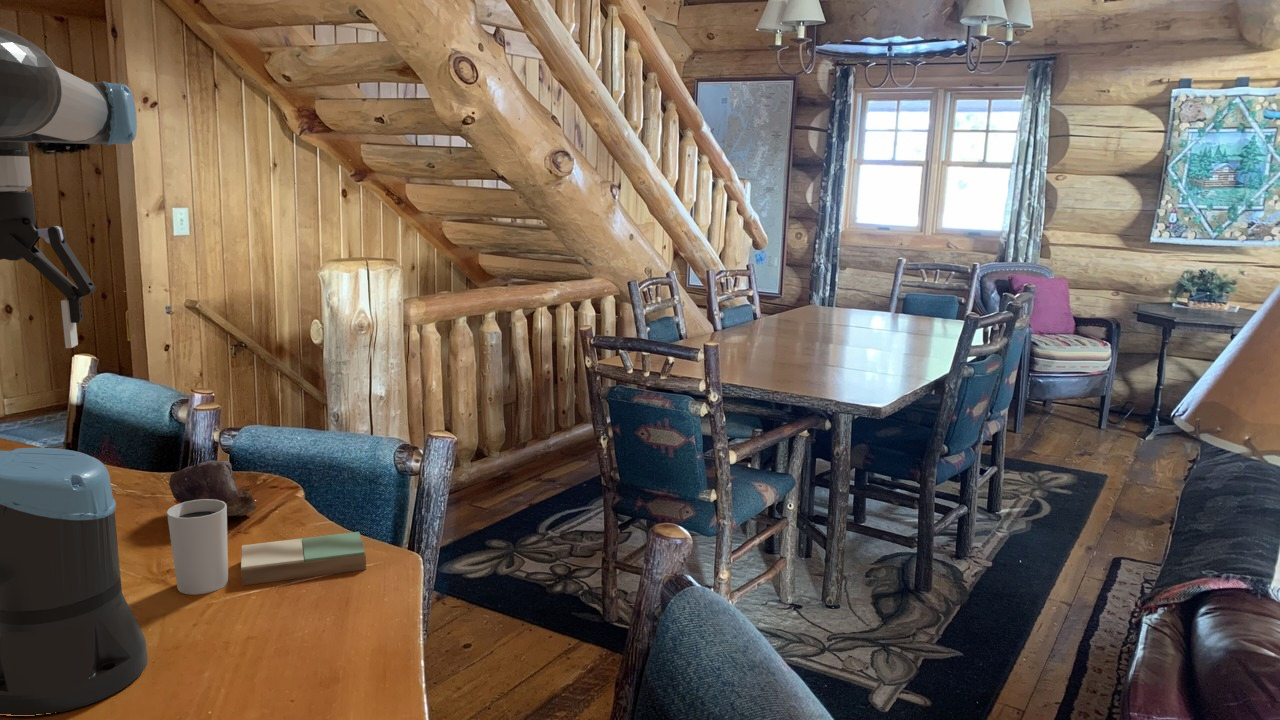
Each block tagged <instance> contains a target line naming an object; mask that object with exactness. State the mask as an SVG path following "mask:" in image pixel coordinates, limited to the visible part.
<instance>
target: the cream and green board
mask: <svg viewBox="0 0 1280 720" xmlns="http://www.w3.org/2000/svg"><path fill="white" fill-rule="evenodd" d="M360 533H361V532H360V531H354V532H352V531H351V532H344V533H343V532H342V533H337V534H328V535H320V536H319V535H318V536H312V537H311V536H309V537H304V538H303V537H301V538H295V539H294V538H293V539H284V540H278V541H277V540H276V541H268V542H260V543H258V542H257V543H251V544H242V545H241V555H240V578H241V579H240V580H241V586H248V585H256V584H257V585H258V584H265V583H273V582H280V581H287V580H295V579H303V578H311V577H312V578H313V577H317V576H325V575H326V576H327V575H333V574H341V573H349V572H356V571H357V572H358V571H362V570H363V571H364V570H365V571H366V570H367V555H366V554H367V553H366V551H365V547H364V543H363V540H362V536H361V534H360Z"/></svg>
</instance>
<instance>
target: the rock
mask: <svg viewBox="0 0 1280 720" xmlns="http://www.w3.org/2000/svg"><path fill="white" fill-rule="evenodd" d="M232 467H233V466H232V462H231V463H230V461H229V460H221V459H219V460H215V459H214V460H212V459H210V460H206V461H203V462H200V463H197V464H195V465H190V466H186V467H184V468H182V469H181V470H177V471H174V472H173V473H172V474H170V477H169V483H168V486H169V488H170V491H171V493H172V496H173V498H174V499H175V501H177V502H178V503H179V504H180V503H183V502H187V501H193V500H202V499H213V500H219V501H223V502H224V503H226V504H227V518H230V517H233V516H235V517H237V516H238V518H240V517H243V516H245V515H247V514H249V513H252V512H253V511H256V509H257V506H256V505H255V500H254V496H253V495H252V494H251V493H249V491H247V490H245V489H238V487H237V484H236V480H235V479H236V478H235V474H234V471H233V470H232ZM229 516H230V517H229ZM239 516H240V517H239Z"/></svg>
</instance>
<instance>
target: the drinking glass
mask: <svg viewBox="0 0 1280 720" xmlns="http://www.w3.org/2000/svg"><path fill="white" fill-rule="evenodd" d="M166 515H167V523H168V529H169V538H170V544H171V551H172V559H173V566H174V572H175V581H176V587H177V591H179V592H180V593H182V594H184V595H194V596H195V595H204V594H205V595H206V594H209V593H212V592H216V591H219V590H221V589H222V588H224V587H225V586H226V585H228V582H229V560H228V559H229V558H228V557H229V556H228V517H227V504H226V503H224V502H223V501H219V500H213V499H202V500H193V501H187V502H183V503H180V502H179V503H178V504H175V505H173V506H171V507H170V508H168V510H167V512H166Z"/></svg>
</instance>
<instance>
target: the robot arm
mask: <svg viewBox="0 0 1280 720" xmlns="http://www.w3.org/2000/svg"><path fill="white" fill-rule="evenodd" d="M137 119H138V118H137V108H136V103H135V98H134V95H133V91H132V90H131V88H130V87H128V85H126V84H123V83H116V82H115V83H114V82H107V81H104V80H101V81H87V80H85V79H82V78H80V77H78V76H76V75H75V74H72V73H70V72H68V71H66V70H64V69H63V68H60V67H58V66H56V65H55V63H54V62H53V61H52V59H51V58H50V57H49V56H48V54H47V53H46V52H45V51H44V50H43V49H42V48H40V47H39V46H38V45H36V44H35V43H34V42H32V41H30V40H29V39H27V38H25V37H23V36H21V35H19V34H17V33H15V32H13V31H11V30H8V29H6V28H3V27H1V26H0V261H1V260H6V261H20V260H21V261H22V260H23V259H24V260H25V261H26V262H27V263H28V264H30V265H32V266H33V267H34V269H36V270H37V271H38V272H39V273H40V274H41V275H43V276H44V278H46V279H47V280H48V281H49V282H50V284H52V285H53V286H54V287H55V288H56V289H57V290H59V292H60V293H62V294H63V295H64V296H65V297H66V298H64V299H62V300H60V305H61V316H62V326H63V336H64V345H65V346H64V347H65V349H72V348H75V347H76V346H78V345H79V339H78V331H77V330H78V329H77V328H78V327H77V324H79V323H81V322H83V319H84V312H83V303H82V302H83V301H82V300H83V298H84V297H86V296H88V295H91V294H93V293H95V292H96V291H97V286H96V285H95V284H94V282H93V281H92V278H90V276H89V274H88V273H87V272H86V270H85V269H84V266H83V265H82V264H81V262H80V261H79V259H78V258H77V256H76V255H75V253H74V252H73V250H72V249H71V247H70V245H69V244H68V242H67V240H66V235H65V230H64V228H63V227H62V226H61V225H53V226H50V227H46V228H39V226H38V225H37V223H36V211H35V201H34V200H35V199H34V194H33V193H32V191H28V189H27V188H30V187H31V186H32V174H31V163H30V155H29V150H28V149H29V148H28V143H42V144H43V143H52V144H53V143H54V144H55V143H56V144H58V143H59V144H79V145H80V144H83V145H84V144H85V145H103V146H111V145H129V144H131V143H132V142H134V141H135V139H136V136H137V127H138V124H137V122H138V121H137ZM41 238H43V240H44V241H45V243H47V244H50V247H51V248H52V250H53V251H54V254H55V255H56V256H57V258H58V259H59V261H60V262H61V263H62V265H63V267H64V268H65V270H66V272H67V273H68V274H69V276H70V277H71V278H72V280H73V281H71V280H70V279H69V278H68V277H67V276H66V275H65V274H64V273H63V272H62V271H61V270H60V269H59V268H57V266H56V265H54V263H52V262H51V261H50V260H49V259H48V258H47V257H46V256H45V254H44V253H43V251H41V250H40V249H39V248H38V247H37V244H38V241H39V240H40V239H41ZM74 283H75V284H74ZM111 484H112V483H111V477H110V472H109V470H108V469H107V467H106V465H104V463H103V462H102V461H100V460H99V459H98V458H96V457H94V456H92V455H88V454H87V453H83V452H80V451H76V450H72V449H71V450H70V449H64V448H56V447H55V448H51V447H21V448H20V447H19V448H13V449H12V450H0V714H11V715H36V714H46V713H55V712H60V713H64V712H68V711H73V710H75V708H76V709H79V708H81V707H84V706H89V705H92V704H93V703H96V702H99V701H101V700H104V699H106V698H108V697H110V696H113V695H114V694H116V693H117V692H120V691H121V690H124V689H125V688H126V687H127V686H129V685H130V684H132V683H133V682H134V681H135V680H137V678H139V677H140V676H141V674H142V673H143V672H144V671H145V669H146V667H147V665H148V660H149V659H148V649H147V648H148V647H147V640H146V637H145V635H144V633H143V631H142V629H141V628H142V627H140V625H139V623H138V621H137V618H136V617H135V615H134V613H133V611H132V609H131V608H130V605H129V603H128V602H127V600H126V597H124V593H123V589H122V588H123V587H122V579H121V566H120V555H119V546H118V545H119V544H118V534H117V524H116V523H117V522H116V509H117V502H116V499H115V497H113V491H112V490H113V489H112V485H111ZM55 714H56V713H55Z"/></svg>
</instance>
